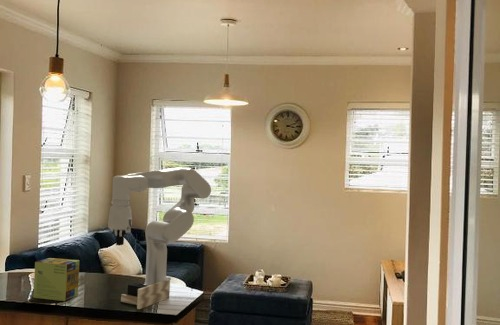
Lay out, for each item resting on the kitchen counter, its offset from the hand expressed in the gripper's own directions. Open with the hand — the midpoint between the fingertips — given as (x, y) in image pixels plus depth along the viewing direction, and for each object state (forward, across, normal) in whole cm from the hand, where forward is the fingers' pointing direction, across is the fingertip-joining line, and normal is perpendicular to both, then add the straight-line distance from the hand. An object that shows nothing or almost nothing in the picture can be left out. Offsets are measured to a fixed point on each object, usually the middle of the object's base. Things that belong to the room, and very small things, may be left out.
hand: (119, 244), depth 227 cm
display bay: (+22, +13, -1) cm, 26 cm away
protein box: (+22, -21, -16) cm, 34 cm away
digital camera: (+23, +14, -2) cm, 27 cm away
